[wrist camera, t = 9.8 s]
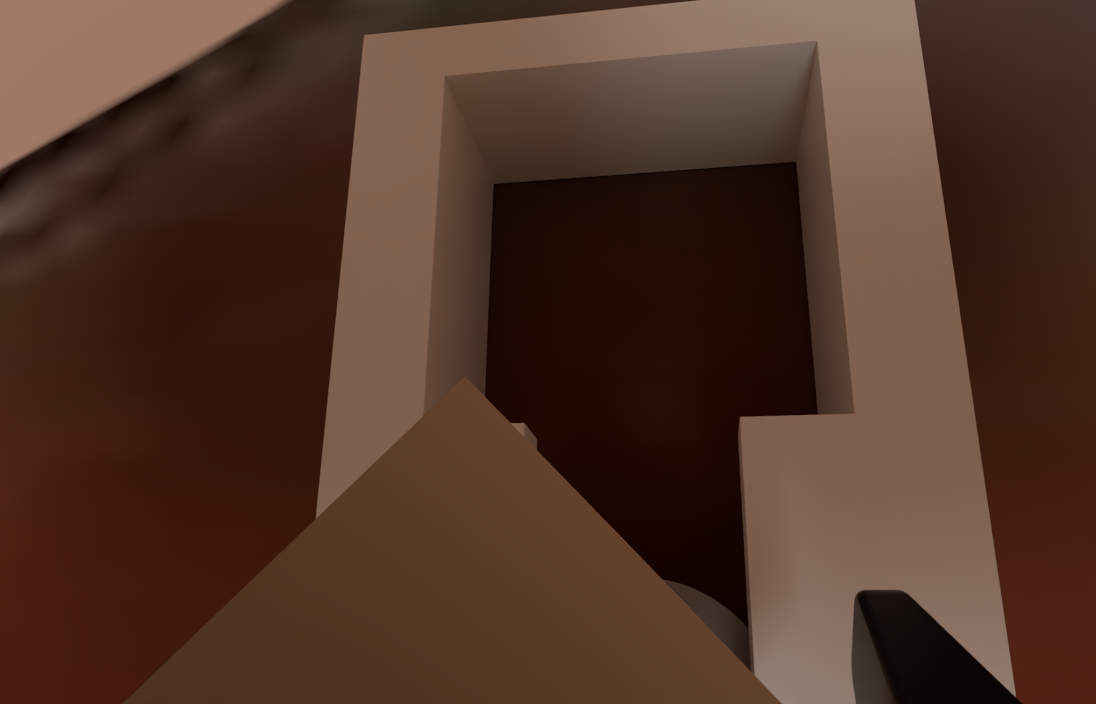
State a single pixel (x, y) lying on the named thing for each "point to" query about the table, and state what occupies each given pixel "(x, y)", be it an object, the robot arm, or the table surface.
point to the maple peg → (462, 595)
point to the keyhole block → (830, 262)
